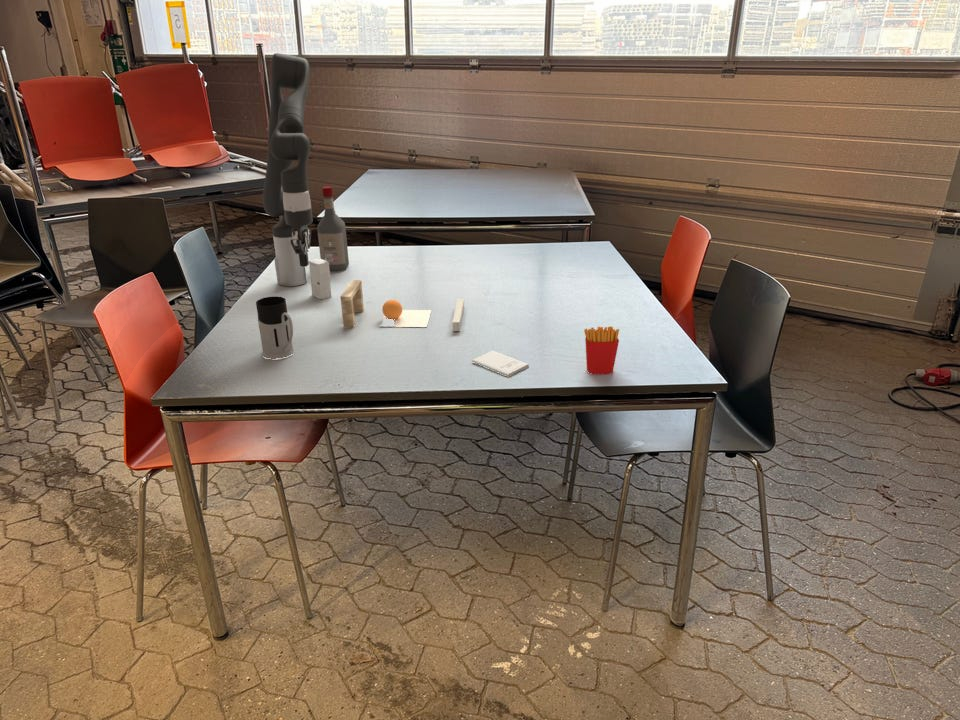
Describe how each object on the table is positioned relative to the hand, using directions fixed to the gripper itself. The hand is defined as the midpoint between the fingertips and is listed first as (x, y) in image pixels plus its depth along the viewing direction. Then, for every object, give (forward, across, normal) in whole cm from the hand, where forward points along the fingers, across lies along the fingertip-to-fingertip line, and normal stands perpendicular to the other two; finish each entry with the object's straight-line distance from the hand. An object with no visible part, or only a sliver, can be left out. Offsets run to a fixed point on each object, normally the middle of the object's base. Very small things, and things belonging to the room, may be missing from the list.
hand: (304, 265), depth 196 cm
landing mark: (+16, 0, +29) cm, 34 cm away
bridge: (+16, 0, +13) cm, 21 cm away
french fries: (+16, +34, +84) cm, 92 cm away
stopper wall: (+16, 0, +45) cm, 48 cm away
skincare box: (+17, -20, -2) cm, 26 cm away
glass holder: (+17, +28, 0) cm, 33 cm away
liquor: (+17, -51, -5) cm, 54 cm away
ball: (+13, 0, +25) cm, 29 cm away
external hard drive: (+17, +32, +59) cm, 69 cm away
